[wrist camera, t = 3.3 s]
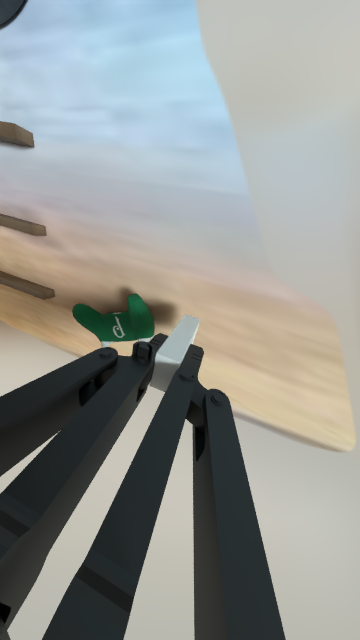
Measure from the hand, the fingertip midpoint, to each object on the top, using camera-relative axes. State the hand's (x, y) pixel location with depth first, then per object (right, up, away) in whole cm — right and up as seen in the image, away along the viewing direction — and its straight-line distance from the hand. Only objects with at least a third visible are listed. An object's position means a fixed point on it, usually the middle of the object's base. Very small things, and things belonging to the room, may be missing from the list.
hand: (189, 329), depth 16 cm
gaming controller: (-9, +4, +3) cm, 10 cm away
